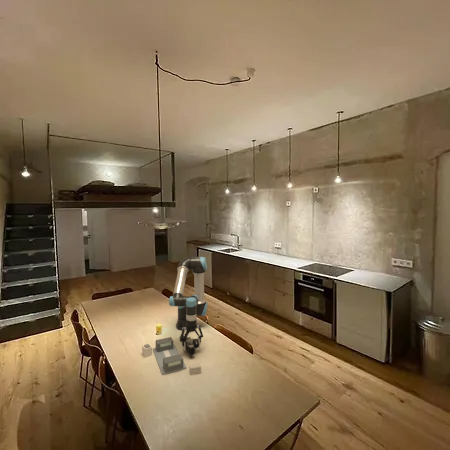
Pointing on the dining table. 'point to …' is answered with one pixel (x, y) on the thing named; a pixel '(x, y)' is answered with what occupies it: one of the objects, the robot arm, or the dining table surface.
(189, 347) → the camera
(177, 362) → the rail board
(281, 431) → the dining table surface
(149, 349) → the block
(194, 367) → the terminal block
